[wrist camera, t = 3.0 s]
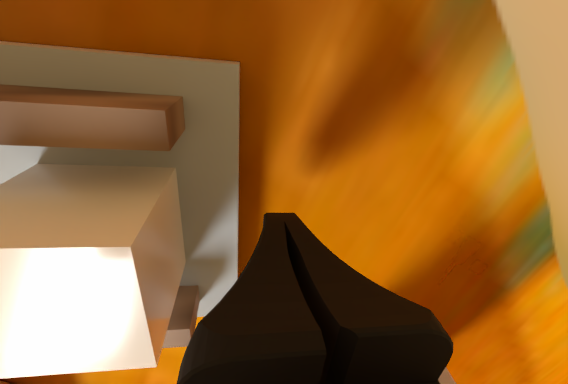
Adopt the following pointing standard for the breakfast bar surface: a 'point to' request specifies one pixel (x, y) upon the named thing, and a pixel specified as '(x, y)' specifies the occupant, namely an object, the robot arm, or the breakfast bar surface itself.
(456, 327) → the breakfast bar surface
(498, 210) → the breakfast bar surface
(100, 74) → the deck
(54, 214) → the cube
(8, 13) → the breakfast bar surface
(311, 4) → the breakfast bar surface
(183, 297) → the parallel rails
